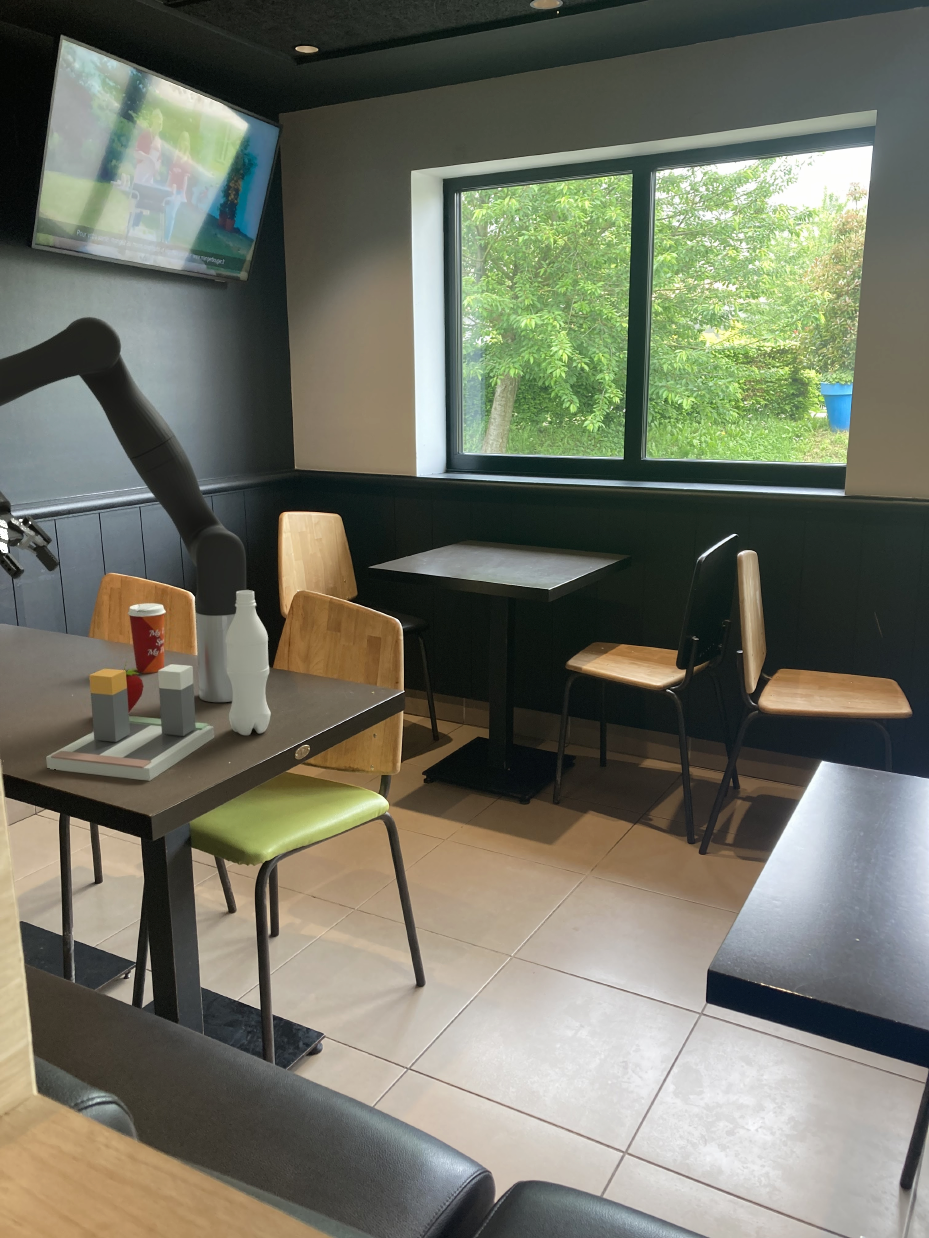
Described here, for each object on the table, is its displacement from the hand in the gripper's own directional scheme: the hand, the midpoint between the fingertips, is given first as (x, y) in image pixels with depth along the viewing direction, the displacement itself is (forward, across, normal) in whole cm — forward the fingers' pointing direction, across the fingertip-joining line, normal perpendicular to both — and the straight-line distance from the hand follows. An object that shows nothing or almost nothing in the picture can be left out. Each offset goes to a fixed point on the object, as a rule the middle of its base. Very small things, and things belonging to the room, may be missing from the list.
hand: (38, 571), depth 151 cm
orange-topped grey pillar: (+28, 0, +10) cm, 29 cm away
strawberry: (+23, +17, +18) cm, 34 cm away
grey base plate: (+32, 0, +9) cm, 33 cm away
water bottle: (+41, +15, -1) cm, 44 cm away
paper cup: (+15, +45, +26) cm, 54 cm away
